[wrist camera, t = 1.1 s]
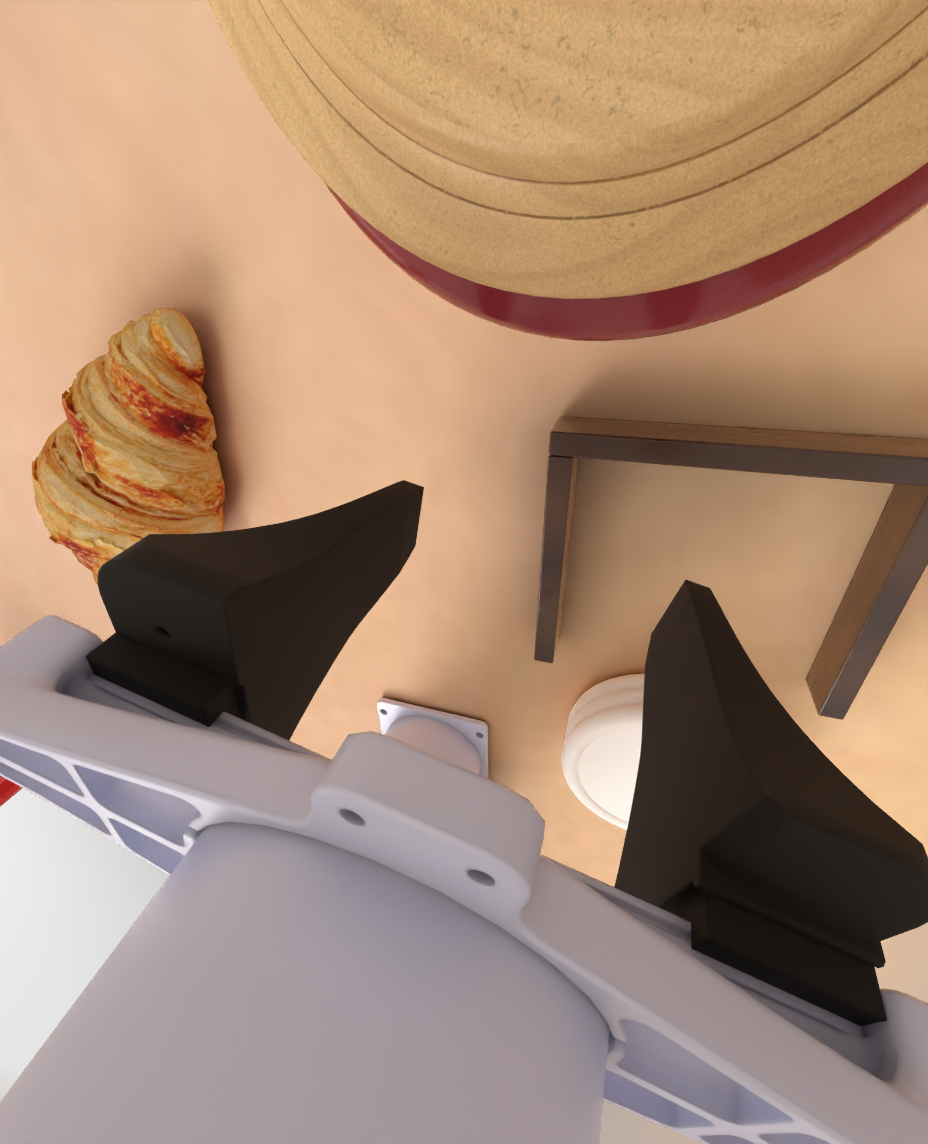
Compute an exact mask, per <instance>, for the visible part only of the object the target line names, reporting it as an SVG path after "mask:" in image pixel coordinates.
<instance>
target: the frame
mask: <svg viewBox="0 0 928 1144" xmlns="http://www.w3.org/2000/svg"><path fill="white" fill-rule="evenodd" d="M549 454H550V455H549V457H548V471H547V485H546V499H545V513H544V527H543V542H542V556H541V570H540V584H539V598H538V612H537V626H536V640H535V654H534V659H535V660H538V661H543V662H548V663H553V661H554V657H555V653H556V649H557V645H558V641H559V637H560V630H561V620H562V611H563V601H564V591H565V582H566V572H567V562H568V553H569V543H570V533H571V524H572V514H573V504H574V495H575V485H576V475H577V466H578V458H590V459H602V460H614V461H626V462H638V463H650V464H662V465H674V466H686V467H698V468H710V469H722V470H734V471H746V472H758V473H770V474H782V475H795V476H807V477H819V478H831V479H843V480H855V481H867V482H879V483H891V484H896V485H895V487H894V489H893V492H892V494H891V496H890V498H889V500H888V502H887V505H886V507H885V509H884V511H883V513H882V515H881V518H880V520H879V522H878V524H877V526H876V528H875V531H874V533H873V535H872V537H871V539H870V542H869V544H868V546H867V548H866V550H865V552H864V555H863V557H862V559H861V561H860V563H859V565H858V568H857V570H856V572H855V574H854V576H853V578H852V581H851V583H850V585H849V587H848V589H847V592H846V594H845V596H844V598H843V600H842V602H841V605H840V607H839V609H838V611H837V613H836V615H835V618H834V620H833V622H832V624H831V626H830V628H829V631H828V633H827V635H826V637H825V639H824V642H823V644H822V646H821V648H820V650H819V652H818V655H817V657H816V659H815V661H814V663H813V665H812V668H811V670H810V672H809V674H808V676H807V678H806V681H807V684H808V687H809V690H810V692H811V695H812V698H813V701H814V704H815V706H816V709H817V712H818V714H819V715H821V716H826V717H831V718H836V719H844V717H845V715H846V713H847V711H848V709H849V708H850V706H851V704H852V702H853V700H854V698H855V697H856V695H857V693H858V691H859V689H860V687H861V686H862V684H863V682H864V680H865V678H866V676H867V675H868V673H869V671H870V669H871V667H872V665H873V663H874V662H875V660H876V658H877V656H878V654H879V652H880V651H881V649H882V647H883V645H884V643H885V641H886V640H887V638H888V636H889V634H890V632H891V630H892V629H893V627H894V625H895V623H896V621H897V619H898V618H899V616H900V614H901V612H902V610H903V608H904V606H905V605H906V603H907V601H908V599H909V597H910V595H911V594H912V592H913V590H914V588H915V586H916V584H917V583H918V581H919V579H920V577H921V575H922V573H923V572H924V570H925V568H926V566H927V564H928V439H916V438H900V437H884V436H868V435H852V434H836V433H819V432H803V431H787V430H771V429H755V428H739V427H722V426H706V425H690V424H674V423H658V422H642V421H625V420H609V419H593V418H577V417H559V419H558V421H557V422H556V424H555V426H554V427H553V429H552V431H551V433H550V444H549Z"/></svg>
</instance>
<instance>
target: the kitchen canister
mask: <svg viewBox="0 0 928 1144" xmlns="http://www.w3.org/2000/svg"><path fill="white" fill-rule="evenodd" d="M208 1H209V3H210V5H211V7H212V10H213V12H214V14H215V16H216V18H217V21H218V23H219V25H220V27H221V28H222V30H223V32H224V34H225V36H226V38H227V40H228V42H229V44H230V46H231V48H232V50H233V52H234V54H235V56H236V57H237V59H238V61H239V63H240V65H241V66H242V68H243V70H244V72H245V73H246V75H247V77H248V78H249V80H250V82H251V83H252V85H253V87H254V89H255V90H256V92H257V94H258V95H259V97H260V98H261V100H262V101H263V103H264V104H265V106H266V107H267V109H268V110H269V112H270V113H271V115H272V116H273V118H274V119H275V121H276V122H277V124H278V125H279V127H280V128H281V129H282V131H283V132H284V133H285V135H286V136H287V137H288V139H289V140H290V141H291V143H292V144H293V145H294V146H295V148H296V149H297V150H298V152H299V153H300V154H301V156H302V157H303V158H304V159H305V160H306V161H307V163H308V164H309V165H310V166H311V167H312V168H313V169H314V171H315V172H316V173H317V174H318V175H319V176H320V177H321V179H322V180H323V181H324V183H325V184H326V186H327V187H328V189H329V190H330V192H331V193H332V194H333V196H334V197H335V198H336V199H337V201H338V202H339V203H340V205H341V206H342V207H343V209H344V210H345V211H346V213H347V214H348V215H349V216H350V218H351V219H352V220H353V221H354V222H355V223H356V224H357V226H358V227H359V228H360V229H361V230H362V231H363V232H364V234H365V235H366V236H367V237H368V238H369V239H370V240H371V241H372V242H373V243H374V244H375V245H376V246H377V247H378V248H379V249H380V250H381V251H382V252H383V253H384V254H385V255H386V256H387V257H388V258H389V259H390V260H391V261H392V262H394V263H395V264H396V265H397V266H398V267H400V268H401V269H402V270H403V271H404V272H405V273H407V274H408V275H409V276H410V277H412V278H413V279H414V280H416V281H417V282H419V283H420V284H421V285H423V286H424V287H425V288H427V289H428V290H430V291H431V292H433V293H434V294H436V295H438V296H439V297H441V298H443V299H444V300H446V301H448V302H449V303H451V304H453V305H454V306H456V307H459V308H461V309H463V310H465V311H467V312H469V313H471V314H473V315H475V316H477V317H480V318H482V319H485V320H487V321H490V322H493V323H495V324H498V325H500V326H504V327H507V328H511V329H514V330H518V331H521V332H525V333H530V334H535V335H540V336H545V337H550V338H559V339H569V340H584V341H611V340H627V339H637V338H644V337H651V336H658V335H664V334H669V333H673V332H678V331H682V330H687V329H691V328H695V327H698V326H702V325H705V324H708V323H712V322H715V321H718V320H722V319H725V318H728V317H730V316H733V315H736V314H738V313H741V312H744V311H746V310H749V309H751V308H754V307H757V306H759V305H762V304H764V303H766V302H768V301H770V300H772V299H775V298H777V297H779V296H781V295H783V294H786V293H788V292H790V291H792V290H794V289H796V288H798V287H800V286H802V285H804V284H806V283H807V282H809V281H811V280H813V279H815V278H817V277H819V276H821V275H822V274H824V273H826V272H828V271H830V270H832V269H833V268H835V267H837V266H838V265H840V264H841V263H843V262H845V261H846V260H848V259H850V258H851V257H853V256H855V255H856V254H858V253H859V252H861V251H863V250H864V249H866V248H868V247H869V246H871V245H872V244H873V243H875V242H876V241H878V240H879V239H881V238H882V237H884V236H885V235H886V234H888V233H889V232H891V231H892V230H894V229H895V228H897V227H898V226H899V225H901V224H902V223H904V222H905V221H907V220H908V219H909V218H911V217H912V216H913V215H915V214H916V213H917V212H919V211H920V210H921V209H922V208H924V207H925V206H926V205H928V0H208Z"/></svg>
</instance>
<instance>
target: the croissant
mask: <svg viewBox="0 0 928 1144" xmlns="http://www.w3.org/2000/svg"><path fill="white" fill-rule="evenodd" d="M205 371H206V370H205V366H204V362H203V356H202V351H201V347H200V344H199V341H198V338H197V336H196V334H195V331H194V329H193V327H192V326H191V324H190V323H189V321H188V320H187V318H186V317H185V316H184V315H183V314H182V313H181V312H179V311H178V310H176V309H171V308H159V309H156V310H155V311H154V313H153V315H151V316H150V315H148V314H147V315H143V317H142V318H141V319H140V320H139V322H134V321H130V322H129V323H128V324H127V325H126V326H125V327H124V329H123V330H122V331H121V332H119V333H117V334H115V335H113V336H112V337H111V339H110V340H109V353H108V354H107V355H103V356H100V357H98V358H96V359H95V360H94V361H92V362H90V363H88V364H87V365H85V366H84V367H83V368H82V369H81V370H80V371H79V372H78V374H77V378H76V379H74V381H73V385H72V386H71V387H70V388H69V390H70V392H67V391H65V392H64V393H63V394H62V404H63V407H64V410H65V413H66V416H67V420H66V421H65V422H64V423H63V424H62V425H61V426H59V427H58V428H57V429H56V430H55V431H54V432H53V433H52V434H51V435H50V436H49V437H48V439H47V441H46V443H45V445H44V447H43V449H42V451H41V453H40V455H39V457H37V458H36V460H35V461H34V462H32V476H33V487H34V491H35V500H36V505H37V508H38V511H39V514H40V515H41V517H42V519H43V521H44V524H45V527H46V528H47V529H48V531H49V532H50V534H51V537H49V538H50V539H51V540H53V541H54V542H55V543H58V544H62V545H64V546H65V547H67V548H69V549H71V550H72V552H73V554H74V555H75V556H76V558H77V559H78V560H79V562H80V563H82V564H83V565H84V566H85V567H86V568H88V569H90V570H91V571H92V573H93V576H94V579H95V582H96V583H97V584H98V571H99V569H100V568H101V566H102V565H103V564H104V563H106V562H107V561H109V560H110V559H112V558H113V557H115V556H117V555H118V554H120V553H121V552H123V551H124V550H126V549H127V548H129V547H130V546H132V545H133V544H135V543H136V542H138V541H140V540H141V539H143V538H144V537H146V536H147V535H149V534H196V533H212V532H222V530H223V504H224V501H225V486H224V480H223V479H222V472H221V468H220V464H219V461H218V457H217V454H218V453H217V452H216V451H215V450H214V449H213V448H212V447H213V441H214V440H215V439H216V438H217V436H216V430H215V424H214V416H213V415H212V414H211V411H210V409H209V407H208V405H207V403H206V401H207V396H206V394H205V393H204V391H203V390H202V389H201V386H202V383H203V376H204V373H205Z"/></svg>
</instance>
